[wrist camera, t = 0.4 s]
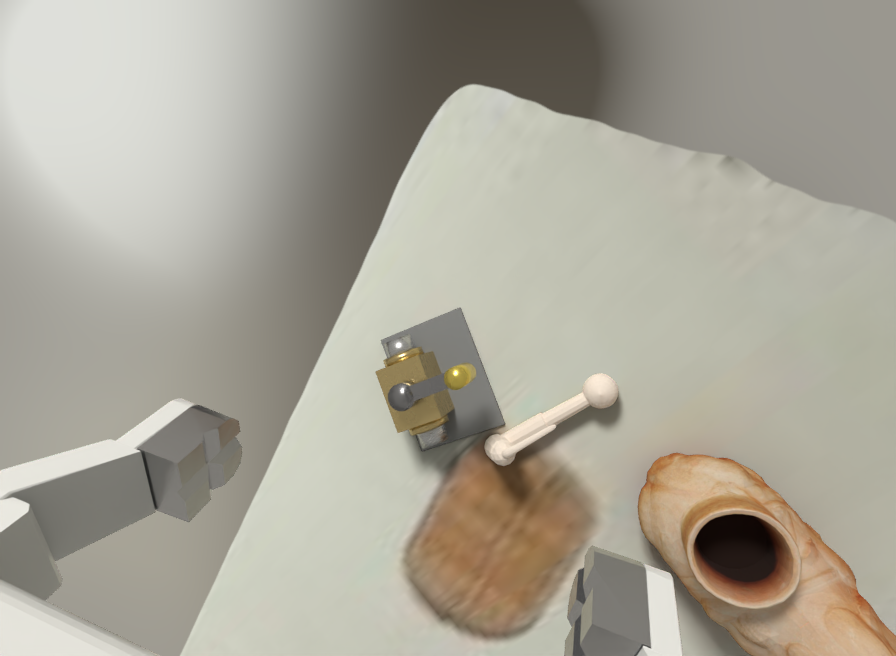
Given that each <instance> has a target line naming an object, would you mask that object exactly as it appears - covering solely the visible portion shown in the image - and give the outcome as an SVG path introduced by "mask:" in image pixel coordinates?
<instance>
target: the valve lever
mask: <svg viewBox="0 0 896 656" xmlns="http://www.w3.org/2000/svg"><path fill="white" fill-rule="evenodd" d="M475 377H476V369H475V367H474V366H473V365H472V364H470V363H462V364H459V365H457V366H454V367H452V368H450V369H448V370H447V371H446V372H445V373H442V374H440V375H437V376H434V377H432V378H429V379H427V380H424V381H421V382H419V383H416V384H413V383H412V382H408V381H405V382H402V383H399V384H397V385H394V386H393V387H392V388H391V389H390V390H389V393H388V402H389V404H390V406H391V407H392V408H393V409H395V410H397V411H406V410H408V409H410V408H411V407H413V406H415V405H416V404H417V403H418V401H419V399H421V398H424V397H427V396H429V395H432V394H435V393H437V392H440V391H443V390H446V389H448V388H450V389H452V390H459V389H461V388H462V387H464V386H466V385H467V384H469V383H470V382H472V381H473V380H474V379H475Z"/></svg>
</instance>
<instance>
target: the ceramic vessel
mask: <svg viewBox="0 0 896 656" xmlns="http://www.w3.org/2000/svg"><path fill="white" fill-rule="evenodd" d="M646 481H647V482H646V484H645V485H644V487H643V488H642V490H641V492H640V495H639V501H638V515H639V521H640V525H641V529H642V531H643V533H644V535H645V537H646V538H647V539H648V540H649V541H650V542H651V543H652V544H653V545H654V546H655V547H656V548H657V549H658V551H659V552H660V554H661V556H662V558H663V559H664V560H665V562H666V563H667V564H668V565H669V566H670V567H671V569H672V570H673V571H674V572H675V573H676V574H677V576H678V578H680V580H681V581H682V583H683V584H684V585H685V586H686V588H687V590H688V591H689V593H690V594H691V595H692V596H693V597H694V598H695V599H696V600H697V601H698V602H699V603H700V604H701V605H702V606H703V609H704V610H705V612H706V614H707V615H708V616H709V617H710V618H711V619H712V620H713V621H714V622H716V623H717V624H719V625H721V626H722V627H724V628H726V629H727V631H728V632H729V633H730V634H731V636H732V637H733V638H734V639H735V641H736V642H737V643H738V644H739V646H740V647H741V648H743V649H744V650H745V651H746V652H747V653H748V654H750V655H751V656H896V636H895V635H894V634H893V633H892V632H891V631H890V630H889V629H888V628H887V627H886V626H885V625H884V623H883V622H882V621H881V620H880V619H879V617H878V616H877V614H876V613H875V611H874V610H873V608H872V607H871V605H870V604H869V603H868V602H867V601H866V600H865V599H864V598H863V597H862V596H861V595H860V594H859V593H858V590H857V587H856V579H855V577H854V574H853V572H852V571H851V569H850V567H849V566H848V565H847V564H846V562H845V561H844V560H843V559H842V558H841V557H839V556H838V555H837V554H836V553H835V552H834V551H833V550H832V549H830V548H829V547H828V546H827V545H826V544H825V543H824V542H823V541H822V539H821V537H820V535H819V534H818V533H817V532H816V531H815V530H814V529H813V528H812V527H811V526H809V525H808V524H807V523H805V522H803V521H802V520H801V518H800V517H799V516H798V514H797V513H796V512H795V511H794V510H793V509H792V508H791V507H790V506H789V505H788V504H787V503H786V502H785V501H784V499H783V498H782V497H781V496H780V495H779V494H778V493H777V492H776V491H774V490H773V489H771V488H770V487H769V486H768V485H767V484H765V482H764V480H763V479H762V477H760V476H759V475H758V474H757V473H756V472H754V471H753V470H751V469H749V468H747V467H745V466H743V465H741V464H739V463H737V462H735V461H733V460H731V459H728V458H714V457H711V456H706V455H690V456H689V455H684V454H680V453H673V454H670V455H668V456H665V457H660V458H659V459H658V460H656V461H655V462H654V463H653V465H652V467H651V468H650V469H649V471H648V472H647V479H646Z"/></svg>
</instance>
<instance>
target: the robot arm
mask: <svg viewBox="0 0 896 656" xmlns="http://www.w3.org/2000/svg"><path fill="white" fill-rule="evenodd" d="M239 432H240V426H239V421H238V420H236V419H233V418H231V417H228V416H226V415H223V414H221V413H218V412H216V411H213V410H210V409H208V408H205V407H203V406H200V405H197V404H194V403H192V402H189V401H187V400H184V399H181V398H179V399H175V400H172V401H170V402H169V403H168V404H166V405H165V406H164V407H162V408H161V409H159V410H158V411H157V412H155V413H154V414H152V415H151V416H150V417H148V418H147V419H146V420H144V421H143V422H141V423H140V424H138V425H137V426H136V427H134V428H133V429H132V430H130V431H129V432H127V433H126V434H125V435H123V436H122V437H120V438H119V439H118V440H116V441H114V440H111V439H108V440H105V441H101V442H98V443H94V444H92V445H87V446H84V447H80V448H77V449H73V450H70V451H67V452H63V453H59V454H56V455H52V456H49V457H45V458H42V459H38V460H35V461H31V462H28V463H24V464H21V465H17V466H14V467H10V468H7V469H4V470H0V656H160V655H158V654H156V653H154V652H152V651H150V650H147V649H146V648H143V647H141V646H139V645H137V644H135V643H133V642H131V641H129V640H127V639H125V638H122V637H120V636H118V635H116V634H114V633H112V632H110V631H108V630H106V629H104V628H102V627H100V626H98V625H95V624H93V623H91V622H89V621H87V620H85V619H83V618H81V617H79V616H77V615H75V614H72V613H70V612H68V611H66V610H64V609H62V608H60V607H58V606H56V605H54V604H51V603H50V602H47V601H45V600H46V599H47V598H49V596H51V595H52V594H53V593H54V592H55V591H56V590H57V589H58V588H59V587H60V586H61V584H62V576H61V574H60V572H59V570H58V567H57V565H56V563H55V561H57V560H59V559H61V558H63V557H65V556H67V555H69V554H71V553H73V552H75V551H77V550H79V549H81V548H83V547H85V546H87V545H90V544H92V543H94V542H96V541H98V540H100V539H102V538H104V537H106V536H108V535H110V534H112V533H114V532H116V531H118V530H120V529H122V528H124V527H126V526H128V525H130V524H133V523H135V522H137V521H139V520H141V519H143V518H145V517H147V516H149V515H151V514H153V513H155V510H157V511H160V512H163V513H165V514H168V515H171V516H173V517H176V518H179V519H181V520H184V521H187V522H190V521H191V520H192V518H194V517H195V515H196V514H197V513H198V512H199V511H200V510H201V509H202V508H203V507H204V506H205V505H206V504H207V503H208V502H209V501H210V500H211V495H212V490H213V489H215V488H218V487H221V486H223V485H225V484H226V483H227V482H228V481H229V480H230V478H231V477H233V476H234V474H235V472H236V470H237V468H238V467H239V465H240V462H241V457H242V446H241V444H240V443H239V441H238V440H237V438H236V437H235V436H236V435H237V434H238V433H239ZM567 618H568V620H569V622H570V624H571V626H572V628H571V630H570V632H569V634H568V636H567V638H566V640H565V652H564V656H683V650H682V642H681V634H680V627H679V619H678V612H677V604H676V596H675V589H674V581H673V578H672V576H671V574H670V573H668V572H666V571H663V570H660V569H657V568H654V567H652V566H649V565H646V564H642V563H641V562H639V561H636V560H633V559H630V558H627V557H624V556H621V555H618V554H615V553H612V552H610V551H607V550H604V549H601V548H598V547H595V546H591V547H590V548H589V549H588V551H587V553H586V555H585V562H584V568H582V569H580V570H578V572H577V574H576V577H575V579H574V582H573V585H572V589H571V593H570V598H569V605H568V615H567Z"/></svg>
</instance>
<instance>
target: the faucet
mask: <svg viewBox="0 0 896 656" xmlns="http://www.w3.org/2000/svg"><path fill="white" fill-rule="evenodd" d="M618 392H619V391H618V386H617V384H616V382H615V381H614V380H613V379H612V378H611V377H610V376H608V375H606V374H601V373H599V374H595V375H592V376H591V377H589V378H588V379H587V380H586V382H585V383H584V386H583V392H582V393H580V394H579V395H577V396H575V397H573V398H571V399H569V400H567V401H565V402H563V403H561V404H560V405H558V406H556V407H554V408H552V409H550V410H548V411H546V412H544V413H542V412H540V413H539V414H537V415H535V416H533V417H532V418H530V419H528V420H526V421H524V422H523V423H521V424H519V425H517V426H516V427H514V428H512V429H510V430H509V431H507V432H505V433H503V434H502V435H500V434H494V435H491V436H490V437H489V438H488V439H487V440H486V442H485V446H484V448H485V451H486V454H487V456H488V457H489V458H490V459H491V460H492V461H494V462H495V463H496V464H498V465H502V466H505V465H508V464H510V463H511V462H512V461H513V460H514V459H515V455H516V453H517V452H518V451H520V450H522V449H523V448H525V447H527V446H528V445H530V444H532V443H533V442H535V441H537V440H538V439H540V438H541V437H543V436H545V435H546V434H548V433H550V432H551V431H553V430H554V429H555V428H556V425H558V424H559V423H561V422H563V421H565V420H566V419H568V418H570V417H571V416H573V415H575V414H577V413H578V412H580V411H582V410H583V409H585V408H587V407H589V406H590V405H591V406H593V407H596V408H607V407H610V406H611V405H612V404H614V402H615V401H616V400H617V397H618Z"/></svg>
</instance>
